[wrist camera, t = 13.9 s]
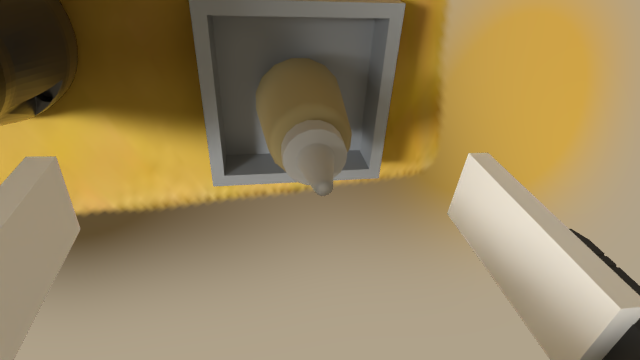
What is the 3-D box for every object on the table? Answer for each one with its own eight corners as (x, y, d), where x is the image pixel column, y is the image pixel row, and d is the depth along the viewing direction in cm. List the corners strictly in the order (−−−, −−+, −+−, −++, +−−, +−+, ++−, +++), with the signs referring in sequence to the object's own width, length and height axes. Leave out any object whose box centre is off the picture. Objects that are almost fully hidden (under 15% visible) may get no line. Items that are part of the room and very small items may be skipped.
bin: (216, 161, 43) (213, 186, 39) (195, -11, 33) (188, -2, 29) (366, 155, 45) (378, 178, 41) (387, -6, 36) (405, 3, 32)
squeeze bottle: (283, 137, 41) (303, 254, 27) (237, 76, 37) (230, 176, 22) (347, 97, 40) (405, 198, 25) (307, 29, 36) (350, 103, 21)
